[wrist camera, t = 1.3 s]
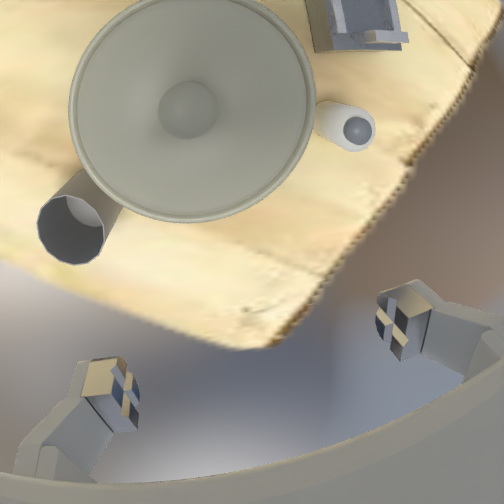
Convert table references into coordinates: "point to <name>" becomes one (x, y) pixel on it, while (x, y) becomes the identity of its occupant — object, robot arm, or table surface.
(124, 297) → the table surface
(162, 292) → the table surface
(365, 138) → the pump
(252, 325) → the table surface
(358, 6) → the grey holder stand
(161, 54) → the canister
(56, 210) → the cup
